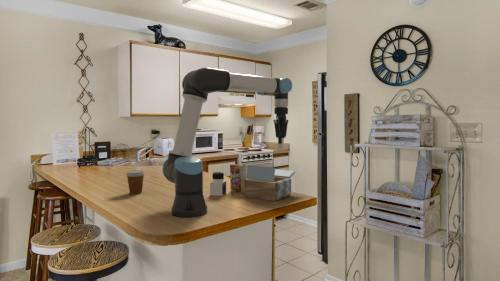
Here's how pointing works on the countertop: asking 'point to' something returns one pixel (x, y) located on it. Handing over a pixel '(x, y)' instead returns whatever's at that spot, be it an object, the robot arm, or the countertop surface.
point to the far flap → (284, 173)
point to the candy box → (237, 178)
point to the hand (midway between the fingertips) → (280, 149)
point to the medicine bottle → (218, 184)
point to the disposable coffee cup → (135, 181)
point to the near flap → (260, 173)
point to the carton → (268, 188)
